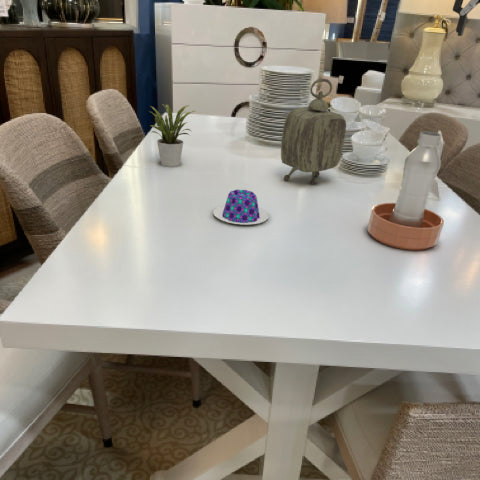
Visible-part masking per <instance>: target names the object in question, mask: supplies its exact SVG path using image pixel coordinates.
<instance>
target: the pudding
mask: <svg viewBox="0 0 480 480" xmlns="http://www.w3.org/2000/svg"><path fill="white" fill-rule="evenodd" d="M212 213H213V215H214V216H215V218H217V219H218V220H221V221H223V222H226V223H228V224H229V223H230V224H235V225H244V226H245V225H246V226H247V225H248V226H249V225H257V224H261V223H264V222H266V221H267V220H268V219H269V213H268V212H267V211H266V210H265V209H263V208H260V207H259V203H258V197H257V195H256V193H254V192H253V191H251V190H247V189H234V190H231V191H229V193H228V194H227V198H226V201H225V204H223V205H219V206H217V207H215V208H214V209H213V212H212Z"/></svg>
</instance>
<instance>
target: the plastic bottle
mask: <svg viewBox="0 0 480 480" xmlns="http://www.w3.org/2000/svg"><path fill="white" fill-rule="evenodd" d="M441 136H442V135H441V134H440V133H438V132H433V131H420V133H419V136H418V139H417V142H416V143H417V146H416V147H414V148H413V149H412V150H411V151H410V152H409V153H408V155H407V156H406V158H405V160H404V165H403V173H402V180H401V184H400V189H399V193H398V196H397V199H396V202H395V203H396V204H395V207H394V209H393V211H392V213H391V215H390V218H389V222H392V223H395V224H398V225H403V226H408V227H416V228H421V227H422V224H423V217H424V215H423V214H424V210H425V209H426V204H427V201H428V197H429V194H430V192H431V190H432V189H431V188H432V185H433V183H434V182H435V179H436V177H437V175H438V174H439V171H440V168H441V167H442V166H441V165H442V161H441V157H440V154H439V151H438V149H437V147H439V146H440V139H441Z"/></svg>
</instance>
